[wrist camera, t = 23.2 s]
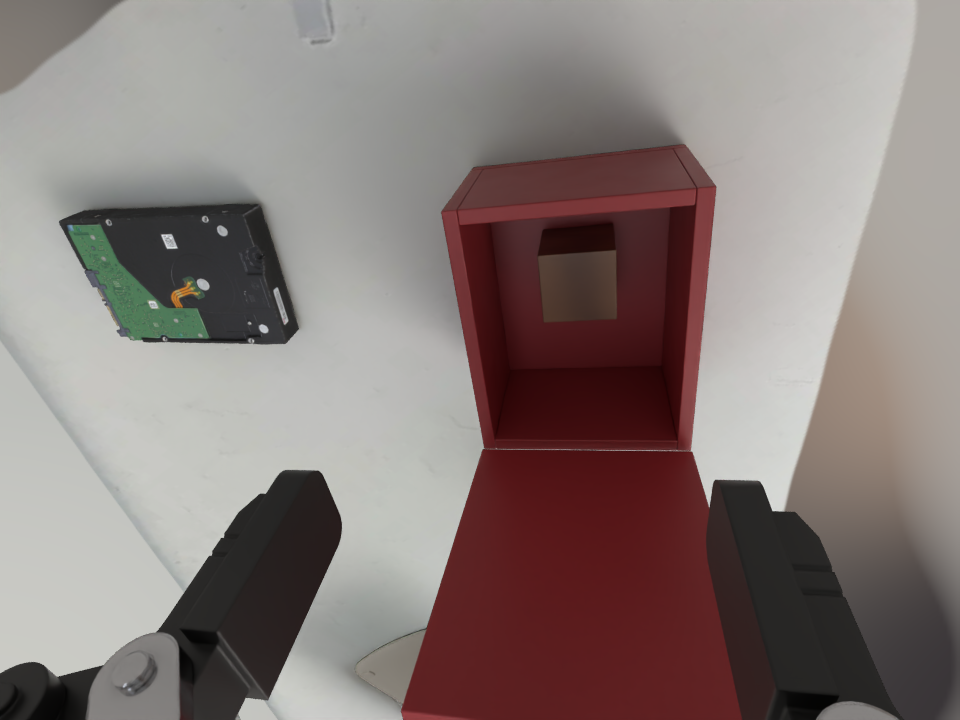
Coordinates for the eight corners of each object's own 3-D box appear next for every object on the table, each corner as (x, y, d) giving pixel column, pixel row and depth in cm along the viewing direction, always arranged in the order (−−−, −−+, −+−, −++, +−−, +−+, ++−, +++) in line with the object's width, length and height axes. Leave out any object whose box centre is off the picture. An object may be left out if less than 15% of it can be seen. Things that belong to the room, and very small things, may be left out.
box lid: (399, 711, 19) (422, 789, 21) (784, 759, 16) (767, 844, 18) (482, 448, 33) (490, 510, 35) (692, 450, 31) (688, 517, 33)
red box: (472, 167, 33) (440, 211, 26) (685, 143, 30) (716, 186, 23) (502, 372, 41) (484, 449, 34) (671, 368, 38) (690, 451, 31)
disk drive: (263, 198, 37) (83, 208, 39) (241, 210, 34) (52, 221, 37) (304, 327, 42) (144, 328, 45) (288, 345, 40) (121, 345, 43)
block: (547, 291, 36) (543, 323, 32) (542, 229, 34) (536, 255, 30) (613, 287, 35) (617, 319, 31) (613, 223, 33) (616, 249, 29)
